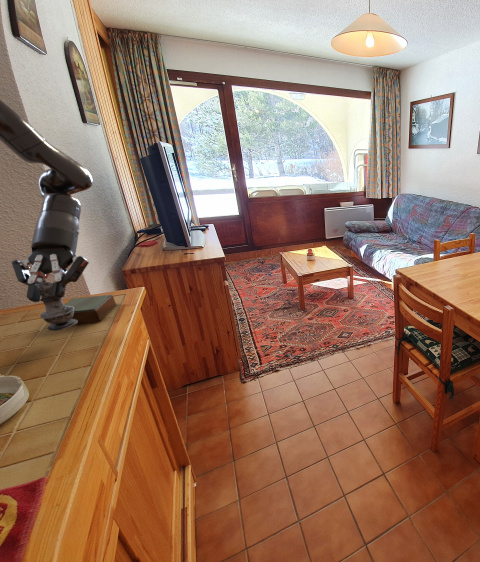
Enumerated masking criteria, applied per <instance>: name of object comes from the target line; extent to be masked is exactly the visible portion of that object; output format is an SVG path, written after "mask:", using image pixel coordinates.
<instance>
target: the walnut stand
mask: <svg viewBox="0 0 480 562" xmlns="http://www.w3.org/2000/svg"><path fill="white" fill-rule="evenodd" d="M64 305H65V306H72V307H74V310H73V311H74V314H73V317H72V318H71V319H76V320H78V322H77V324H76V325H79V324H90V323H99V322H101V321H102V320H103V319H104V318H105V317H107V315H108V314H109V313H110V312H111V311H112V310H113V309H114V308H115V307H116V306H117V303H116V300H115V297H114V295H113V294H104V295H103V294H101V295H93V296H84V297H82V296H81V297H72V298H71V299H69V300H68V301H67V302H66V303H64Z"/></svg>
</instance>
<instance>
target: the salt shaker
mask: <svg viewBox="0 0 480 562" xmlns="http://www.w3.org/2000/svg"><path fill="white" fill-rule="evenodd" d="M42 282H43V283H42V284H40V285H39V286H38V290H39V293H40V295H41V296H40V302H42V303H43V304H44V307H45V311H43V312H42V313H41V314H40V315H39V317H40V318H41V319H43V321H45V322H46V323H48V324H50V325H49V326H47V330H48V331H51V332H56V331H61V330H65V329H69V328H71V327H74V326H75V325H78V324H77V322H78V320H76V319H71V318H72V317H73V314H74V311H73V310H74V307H72V306H65V305H64V304H65V303H64V301H63V299H62V298H61V300H55V299H53V298H51V293H52V287H53V282H50V281H49V282H48V281H47V280H46V279H45V280H44V279H43V280H42Z"/></svg>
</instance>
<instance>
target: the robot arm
mask: <svg viewBox="0 0 480 562" xmlns="http://www.w3.org/2000/svg"><path fill="white" fill-rule="evenodd" d="M0 143H2V144H3V145H4V146H5V147H6V148H8V150H10V151H11V152H12V153H13V154H14V155H16V157H18V158H19V159H20V160H22V162H24V163H27V164H41V165H44V166H46V167H47V168H48V169H45V170H43V171H42V172H41V173H40V175H39V177H38V187H39V188H38V189H39V194H40V198H41V205H40V208H39V209H40V210H39V214H38V217H37V219H36V222H35V226H34V231H33V235H32V240H31V245H30V248H31V253H30V254H29V255H28V256H27V258H25V259H22V260H19V259H13V260H12V261H11V266H12V268H13V271H14V273H15V276H16V279H17V281H18V282H19V283H21V284H23V285H26V286H27V291H26V298H27V299H28V300H29V301H31V302H33V303H39V302H41V300H40V299H41V295H40V293H39V290H38V286H39V285H40V284H42V283H43V282H42V280H43V279H44V280H46V279H48V277H49V276H50V274H53V277H54V282H52V283H53V287H52V293H51V298H53V299H55V300H61V299H62V298H64V297H65V294H66V287H67V285H68V284H69V283H76V282H78V280H79V279H80V277H81V276H82V274H83V273H84V271H85V269H86V268H87V267H88V265H89V263H90V261H89V260H87V258H85V257H83V256H82V255H78V256H77V255H76V253H77V246H78V241H79V235H80V219H81V211H82V205H81V202H80V201H79V200H78V199H77V198H76V197H74V196H72V195H74V194H78V193H81V192H84V191H87V190H89V189H90V188H92V186H93V183H94V182H93V177H92V175H91V173H90V172H89V171H88V169H86V168H85V166H83V165H82V164H81V163H80V162H78V161H77V160H75V159H74V158H72V157H70V156H69V155H67V154H66V153H64V151H62V150H61V149H58V147H55V146H54V145H52V143H50V142H49V141H48V140H47V139H46V138H45V137H44V136H43V135H42V134H41V133H40V132H39V131H38V130H37V129H36V128H34V126H33V125H32V124H31V123H29V122H28V121H27V120H26V119H25V118H24V117H23V116H22V115H21V114H19V113H18V112H17V111H15V110H14V108H12V107H11V106H10V105H9V104H7V103H6V102H5V101H4V100H2V98H0ZM31 266H32V267H31ZM68 268H69V269H68ZM29 270H30V271H29Z"/></svg>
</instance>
